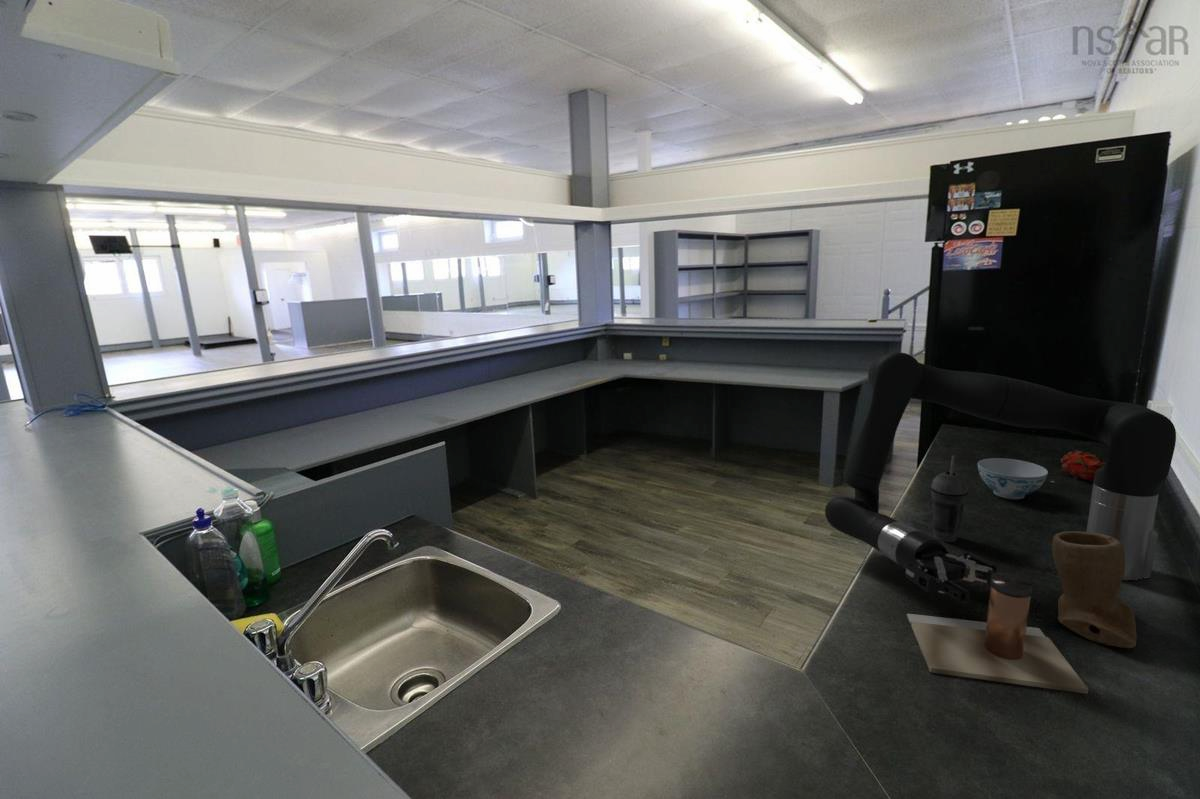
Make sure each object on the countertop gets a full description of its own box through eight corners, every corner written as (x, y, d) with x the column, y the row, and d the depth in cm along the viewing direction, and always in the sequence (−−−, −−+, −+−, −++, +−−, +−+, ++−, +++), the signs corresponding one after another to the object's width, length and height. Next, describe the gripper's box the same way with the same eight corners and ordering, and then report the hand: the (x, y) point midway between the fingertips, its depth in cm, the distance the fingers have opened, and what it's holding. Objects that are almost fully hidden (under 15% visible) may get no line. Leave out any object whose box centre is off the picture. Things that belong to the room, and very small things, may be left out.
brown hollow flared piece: (1047, 590, 105) (1057, 516, 102) (1134, 613, 97) (1148, 534, 94) (1037, 629, 94) (1048, 547, 91) (1134, 658, 86) (1150, 570, 83)
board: (1047, 641, 91) (1048, 637, 91) (1087, 693, 80) (1088, 689, 79) (911, 625, 96) (911, 621, 96) (930, 672, 85) (930, 667, 85)
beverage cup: (961, 533, 128) (969, 450, 124) (966, 547, 122) (975, 460, 118) (925, 528, 132) (931, 447, 127) (928, 542, 125) (935, 457, 121)
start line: (1038, 629, 94) (1039, 628, 94) (1045, 638, 92) (1045, 636, 91) (906, 615, 99) (907, 613, 99) (910, 622, 97) (910, 621, 97)
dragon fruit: (1055, 476, 163) (1106, 494, 153) (1051, 466, 157) (1104, 484, 148) (1068, 452, 163) (1121, 467, 154) (1065, 440, 158) (1119, 456, 149)
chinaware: (982, 502, 144) (985, 474, 143) (969, 482, 158) (971, 456, 156) (1053, 508, 139) (1057, 479, 137) (1033, 487, 152) (1037, 460, 151)
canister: (1015, 641, 90) (1024, 574, 87) (1029, 662, 85) (1039, 592, 82) (978, 637, 91) (986, 570, 89) (990, 657, 87) (998, 588, 84)
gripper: (880, 536, 102) (956, 580, 87) (942, 524, 106) (1026, 564, 91) (877, 573, 104) (952, 623, 89) (939, 560, 108) (1021, 606, 92)
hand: (989, 593), depth 90 cm, fingers open, 8 cm apart
